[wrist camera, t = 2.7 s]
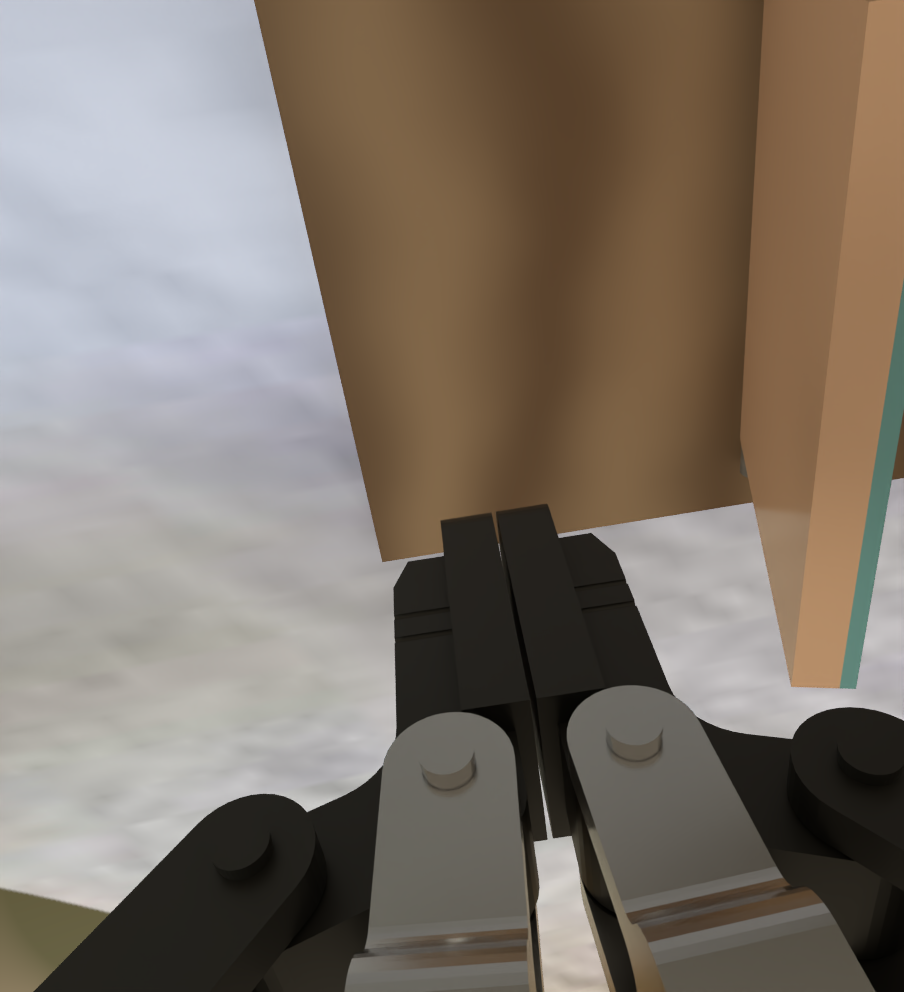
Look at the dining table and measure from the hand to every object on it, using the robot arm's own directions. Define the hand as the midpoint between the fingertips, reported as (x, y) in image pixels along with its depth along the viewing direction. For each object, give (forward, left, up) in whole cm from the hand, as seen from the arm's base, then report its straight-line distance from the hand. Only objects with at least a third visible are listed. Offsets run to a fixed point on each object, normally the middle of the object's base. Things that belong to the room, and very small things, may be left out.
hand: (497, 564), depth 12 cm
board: (+9, 0, -14) cm, 17 cm away
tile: (+7, 0, -7) cm, 10 cm away
